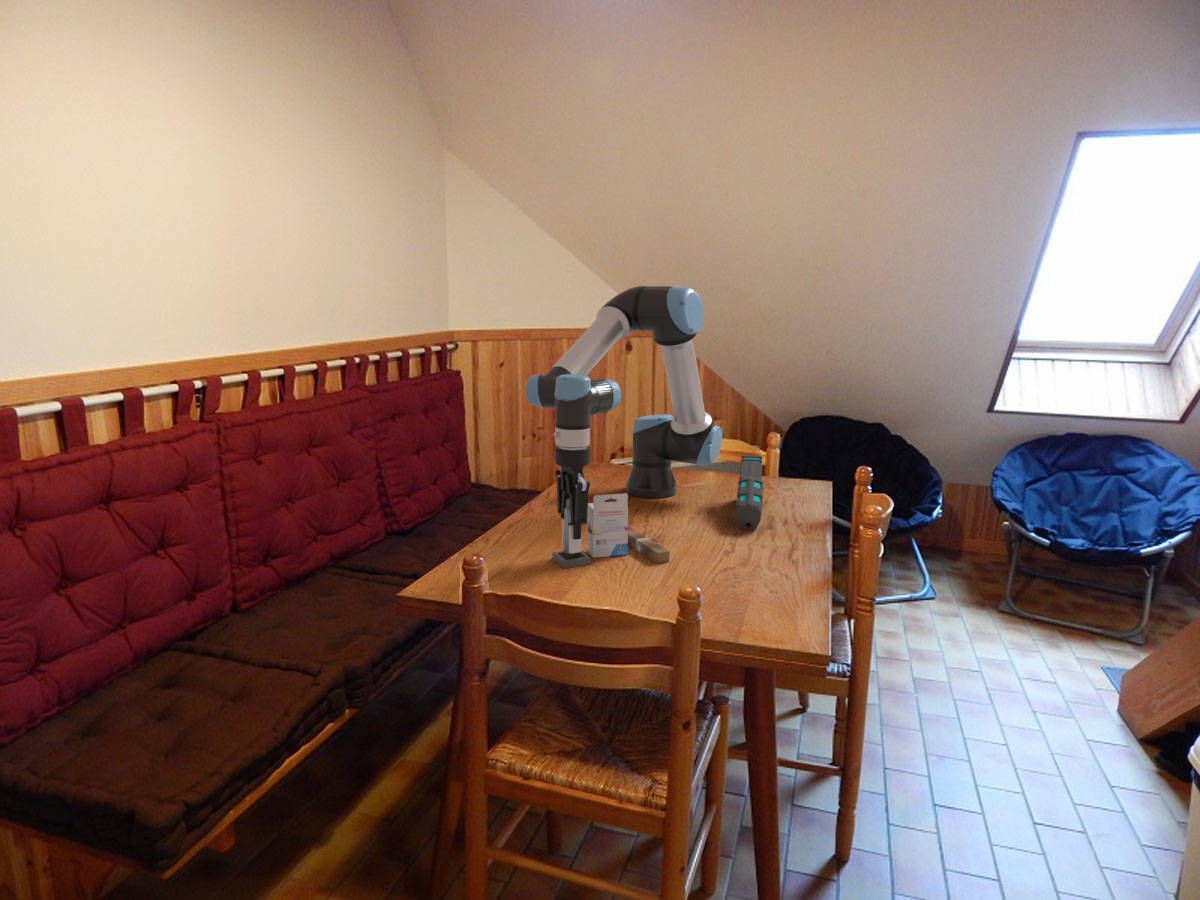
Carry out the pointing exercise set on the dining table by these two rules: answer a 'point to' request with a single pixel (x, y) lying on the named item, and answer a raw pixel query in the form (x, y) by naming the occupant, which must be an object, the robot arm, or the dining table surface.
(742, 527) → the gun
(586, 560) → the holder
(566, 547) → the blue bottle
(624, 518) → the ink box
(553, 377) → the robot arm
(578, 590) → the dining table surface
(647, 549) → the grey-brown long bar
